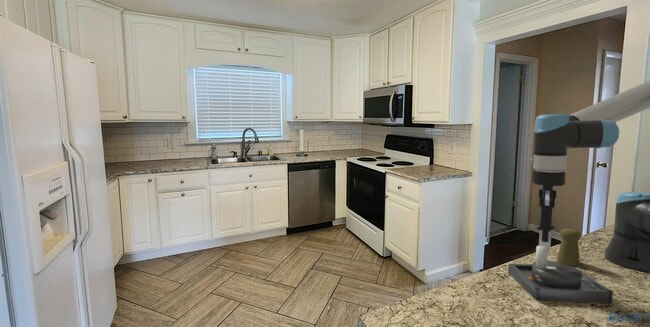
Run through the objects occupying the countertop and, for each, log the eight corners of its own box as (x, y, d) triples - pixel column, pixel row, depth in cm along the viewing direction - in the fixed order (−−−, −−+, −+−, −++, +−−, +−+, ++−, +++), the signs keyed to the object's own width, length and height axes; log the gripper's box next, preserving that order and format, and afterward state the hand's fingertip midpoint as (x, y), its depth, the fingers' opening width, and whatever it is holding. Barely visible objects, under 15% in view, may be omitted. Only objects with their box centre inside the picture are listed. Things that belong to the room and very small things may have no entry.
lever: (565, 271, 91) (567, 241, 90) (591, 290, 80) (594, 257, 79) (524, 269, 93) (526, 240, 92) (544, 288, 82) (547, 255, 81)
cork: (584, 266, 99) (587, 233, 97) (562, 265, 100) (565, 232, 99) (573, 258, 105) (575, 226, 103) (553, 257, 106) (555, 226, 104)
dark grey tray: (571, 274, 93) (572, 265, 93) (611, 303, 79) (612, 291, 78) (508, 272, 95) (508, 263, 95) (536, 300, 80) (536, 289, 80)
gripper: (533, 166, 94) (529, 241, 97) (531, 172, 84) (527, 256, 86) (564, 167, 90) (559, 246, 93) (566, 174, 79) (561, 262, 82)
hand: (544, 251), depth 90 cm, fingers closed
